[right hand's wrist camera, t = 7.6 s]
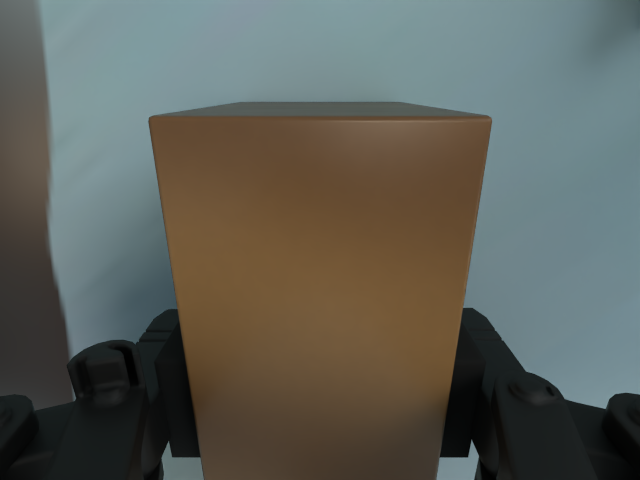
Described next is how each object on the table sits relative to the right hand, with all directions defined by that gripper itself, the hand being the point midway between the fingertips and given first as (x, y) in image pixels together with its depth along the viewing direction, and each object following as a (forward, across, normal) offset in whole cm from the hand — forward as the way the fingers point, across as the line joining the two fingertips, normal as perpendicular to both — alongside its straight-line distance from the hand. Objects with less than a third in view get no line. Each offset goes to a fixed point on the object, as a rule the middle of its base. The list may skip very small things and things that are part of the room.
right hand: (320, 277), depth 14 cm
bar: (0, 0, -23) cm, 23 cm away
